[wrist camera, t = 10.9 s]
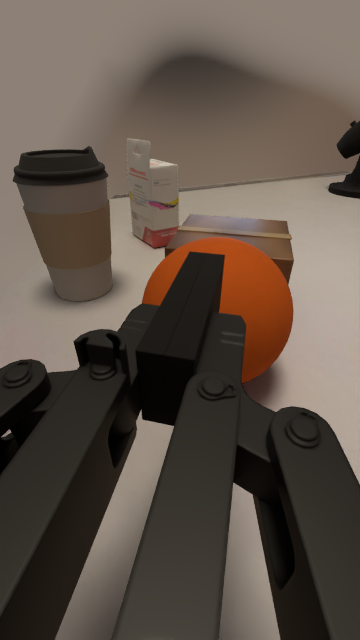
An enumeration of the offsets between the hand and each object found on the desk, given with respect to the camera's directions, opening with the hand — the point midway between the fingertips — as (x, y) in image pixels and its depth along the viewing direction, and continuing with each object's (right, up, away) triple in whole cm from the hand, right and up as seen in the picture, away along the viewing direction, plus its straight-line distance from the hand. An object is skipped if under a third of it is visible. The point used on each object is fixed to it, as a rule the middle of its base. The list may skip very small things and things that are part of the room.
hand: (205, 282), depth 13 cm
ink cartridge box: (-5, +12, +38) cm, 41 cm away
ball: (+2, -1, +9) cm, 10 cm away
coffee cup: (-13, +2, +24) cm, 27 cm away
